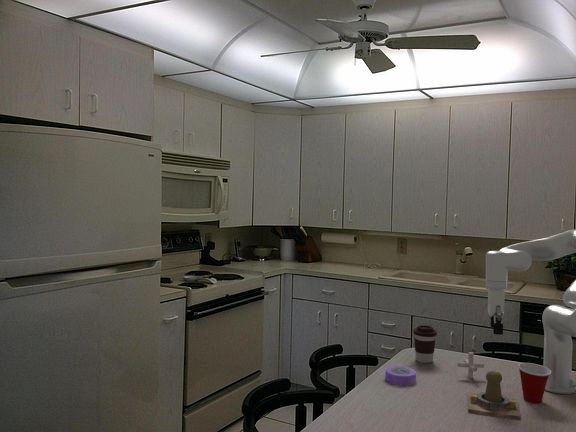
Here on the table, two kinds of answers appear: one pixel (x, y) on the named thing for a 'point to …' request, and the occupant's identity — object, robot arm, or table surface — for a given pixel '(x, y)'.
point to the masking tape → (400, 375)
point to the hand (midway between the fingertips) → (496, 330)
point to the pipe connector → (470, 365)
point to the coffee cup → (424, 343)
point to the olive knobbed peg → (493, 387)
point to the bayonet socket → (493, 406)
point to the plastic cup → (533, 381)
